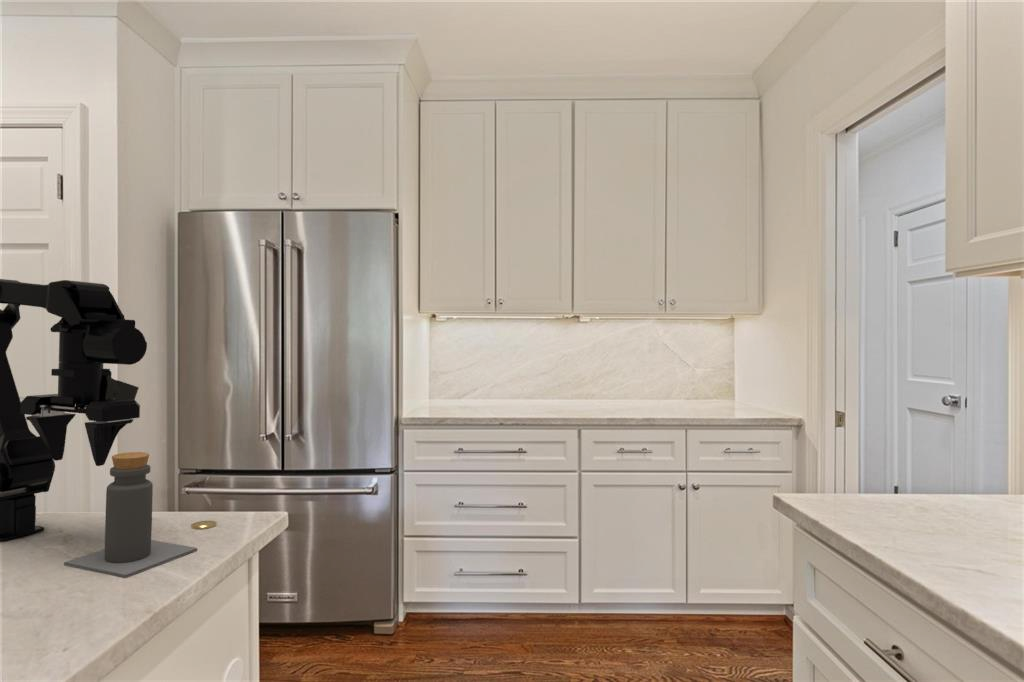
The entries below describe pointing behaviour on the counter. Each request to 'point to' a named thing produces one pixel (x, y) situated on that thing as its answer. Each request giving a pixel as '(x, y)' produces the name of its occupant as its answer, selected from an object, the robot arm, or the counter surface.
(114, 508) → the bottle
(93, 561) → the slate mat
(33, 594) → the counter surface
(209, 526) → the brass token
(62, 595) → the counter surface
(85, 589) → the counter surface
